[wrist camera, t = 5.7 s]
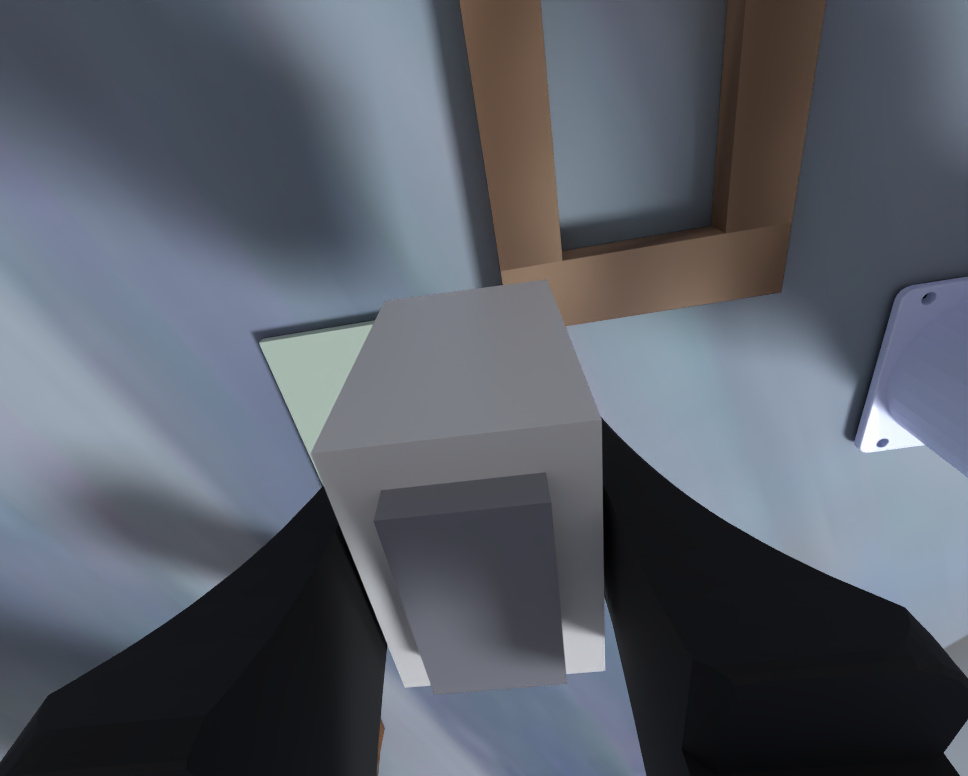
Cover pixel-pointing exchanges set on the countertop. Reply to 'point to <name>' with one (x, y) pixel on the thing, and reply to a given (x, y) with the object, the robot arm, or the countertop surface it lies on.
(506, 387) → the plug
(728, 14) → the brown picture frame
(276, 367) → the mat
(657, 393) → the countertop surface
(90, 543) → the countertop surface
